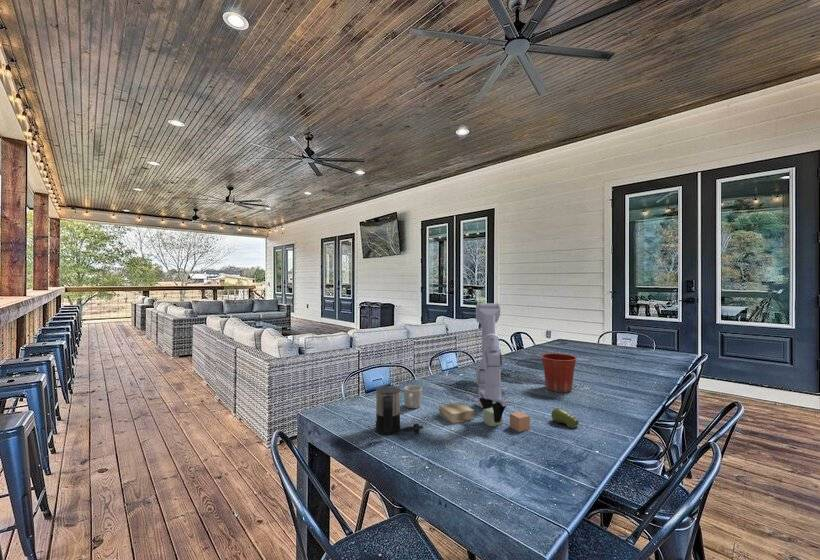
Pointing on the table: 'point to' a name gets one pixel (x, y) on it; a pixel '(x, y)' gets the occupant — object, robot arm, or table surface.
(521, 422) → the terracotta cube
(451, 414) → the base block
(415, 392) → the cup
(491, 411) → the sage cube
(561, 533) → the table surface
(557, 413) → the pear
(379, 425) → the milk frother
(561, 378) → the flower pot
